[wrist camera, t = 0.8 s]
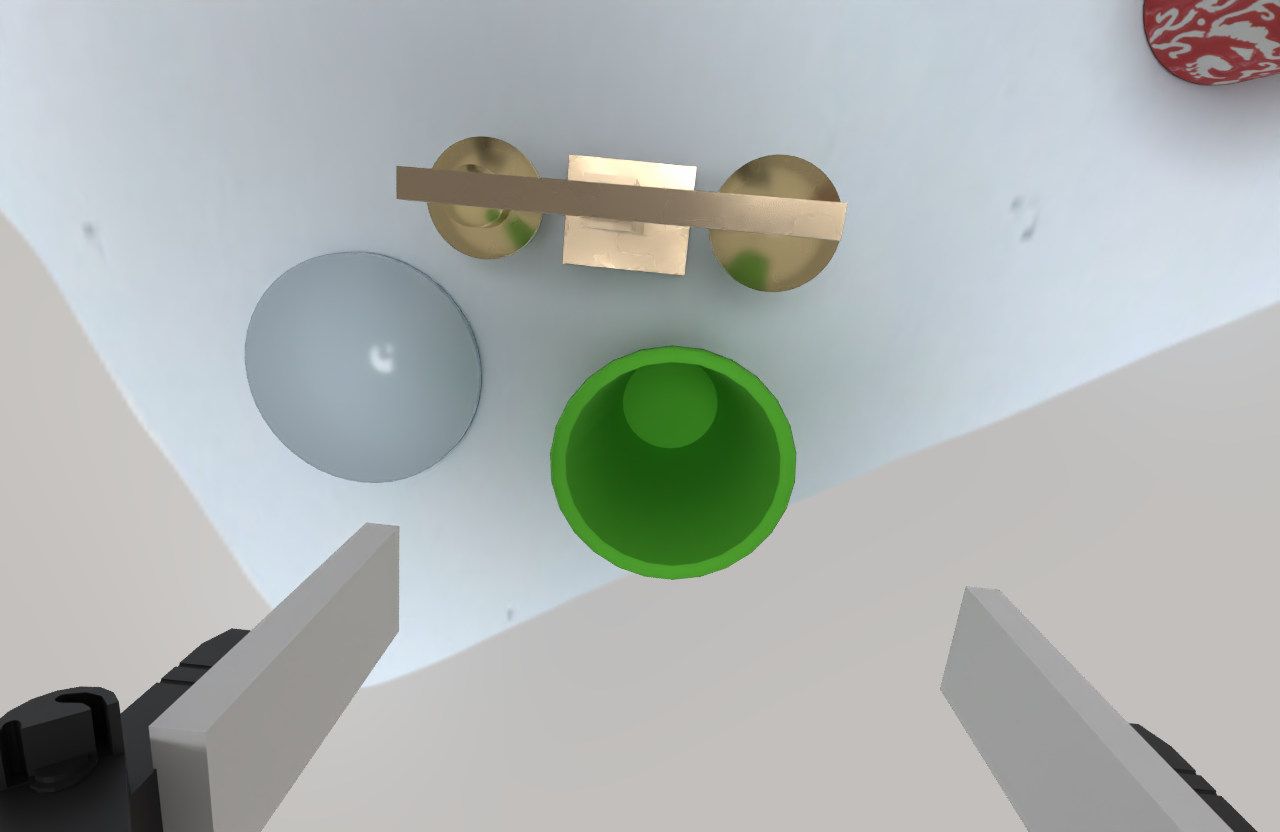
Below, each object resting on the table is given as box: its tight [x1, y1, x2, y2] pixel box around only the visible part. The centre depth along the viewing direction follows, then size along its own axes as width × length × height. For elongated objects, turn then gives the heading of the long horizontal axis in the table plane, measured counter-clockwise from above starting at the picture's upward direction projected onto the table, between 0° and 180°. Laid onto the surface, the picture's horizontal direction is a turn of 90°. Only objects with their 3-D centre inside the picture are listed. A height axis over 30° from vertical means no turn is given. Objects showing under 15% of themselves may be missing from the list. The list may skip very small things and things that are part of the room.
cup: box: [550, 346, 796, 580], centre depth 29 cm, size 9×9×11 cm
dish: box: [245, 253, 481, 483], centre depth 34 cm, size 12×12×1 cm
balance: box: [397, 137, 847, 292], centre depth 25 cm, size 17×5×14 cm, turn 84°
